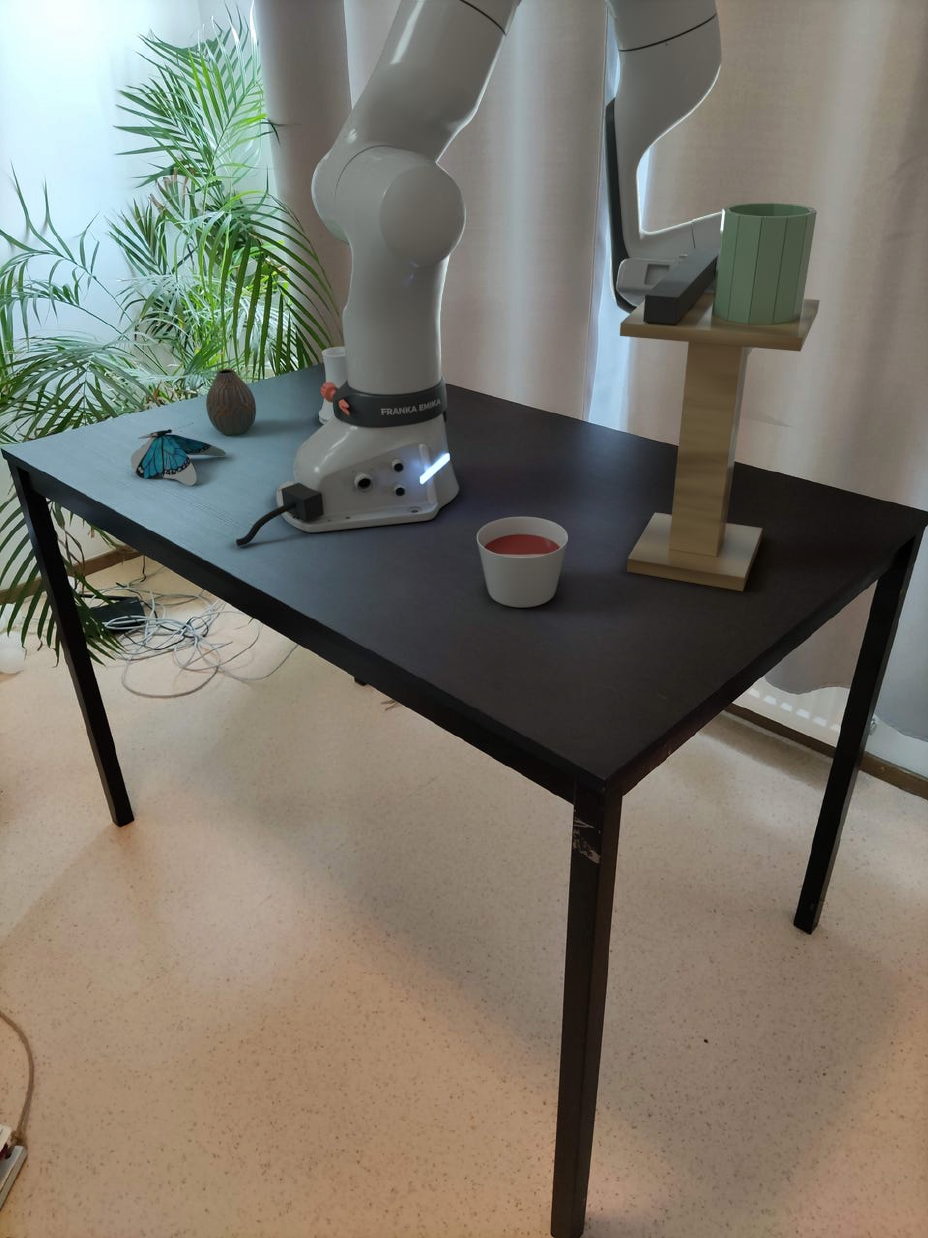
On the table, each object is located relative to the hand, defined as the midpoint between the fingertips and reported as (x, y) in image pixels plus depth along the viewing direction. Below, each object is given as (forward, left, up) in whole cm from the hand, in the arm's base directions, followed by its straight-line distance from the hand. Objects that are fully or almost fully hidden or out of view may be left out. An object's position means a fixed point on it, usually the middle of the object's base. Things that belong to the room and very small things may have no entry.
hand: (701, 263), depth 101 cm
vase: (-43, +49, -28) cm, 71 cm away
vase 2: (-27, +47, -28) cm, 61 cm away
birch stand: (-5, -11, -28) cm, 30 cm away
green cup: (-3, -14, -2) cm, 14 cm away
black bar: (-5, -5, -2) cm, 7 cm away
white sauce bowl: (-25, -11, -28) cm, 39 cm away
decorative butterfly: (-53, +38, -28) cm, 71 cm away
